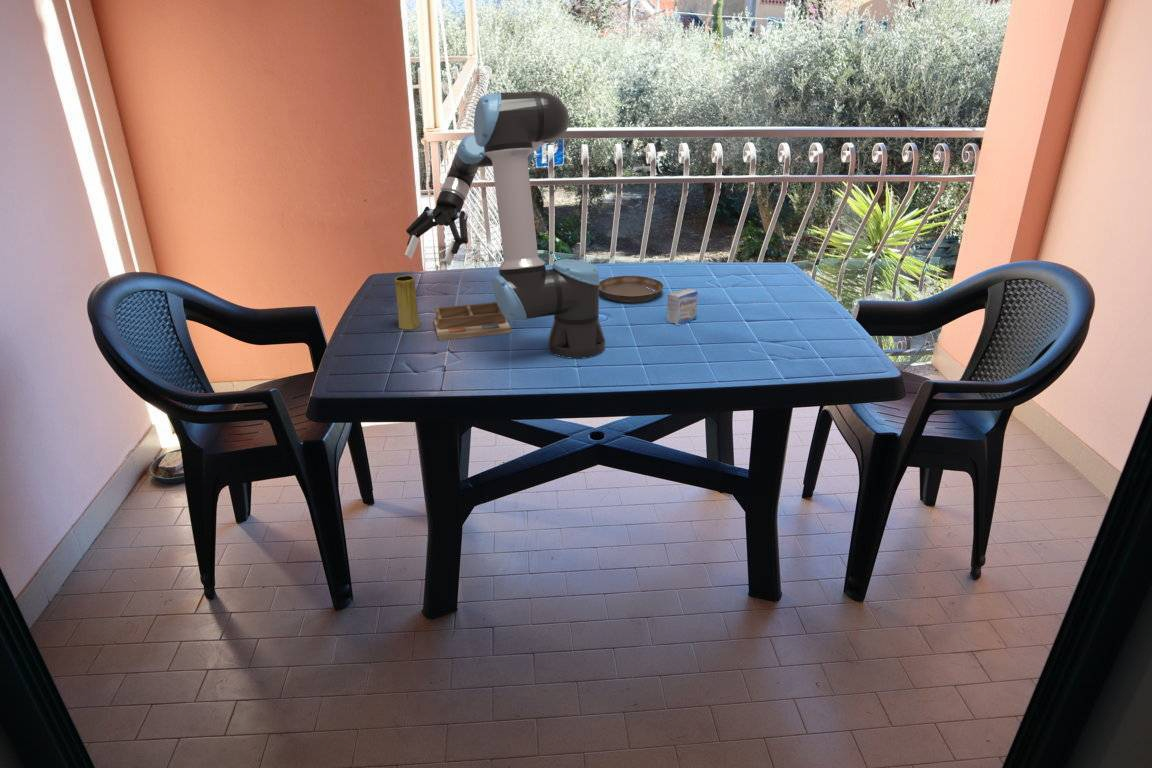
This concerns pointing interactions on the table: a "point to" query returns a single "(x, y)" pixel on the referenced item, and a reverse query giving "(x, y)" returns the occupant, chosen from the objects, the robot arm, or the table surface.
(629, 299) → the plant saucer
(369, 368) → the table surface
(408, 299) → the vase
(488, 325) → the tray
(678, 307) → the medicine box
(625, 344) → the table surface
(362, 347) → the table surface
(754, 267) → the table surface
